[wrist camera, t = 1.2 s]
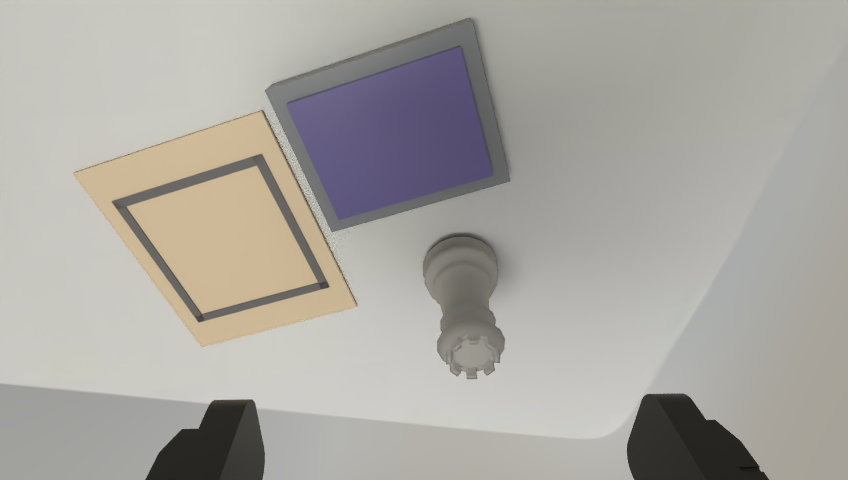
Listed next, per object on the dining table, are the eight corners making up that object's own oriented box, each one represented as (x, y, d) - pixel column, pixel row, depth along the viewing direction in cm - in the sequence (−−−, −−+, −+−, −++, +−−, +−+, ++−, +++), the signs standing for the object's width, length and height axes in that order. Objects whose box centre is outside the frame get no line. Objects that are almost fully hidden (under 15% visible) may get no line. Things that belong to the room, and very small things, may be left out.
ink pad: (469, 17, 22) (473, 22, 21) (506, 172, 26) (511, 185, 25) (271, 84, 23) (261, 93, 22) (334, 221, 27) (330, 236, 26)
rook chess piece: (429, 226, 28) (434, 316, 21) (504, 237, 28) (533, 329, 21) (416, 288, 30) (417, 388, 23) (486, 297, 30) (507, 398, 24)
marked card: (262, 110, 24) (260, 111, 24) (357, 304, 31) (356, 307, 30) (75, 172, 26) (71, 174, 25) (202, 345, 32) (201, 348, 32)
